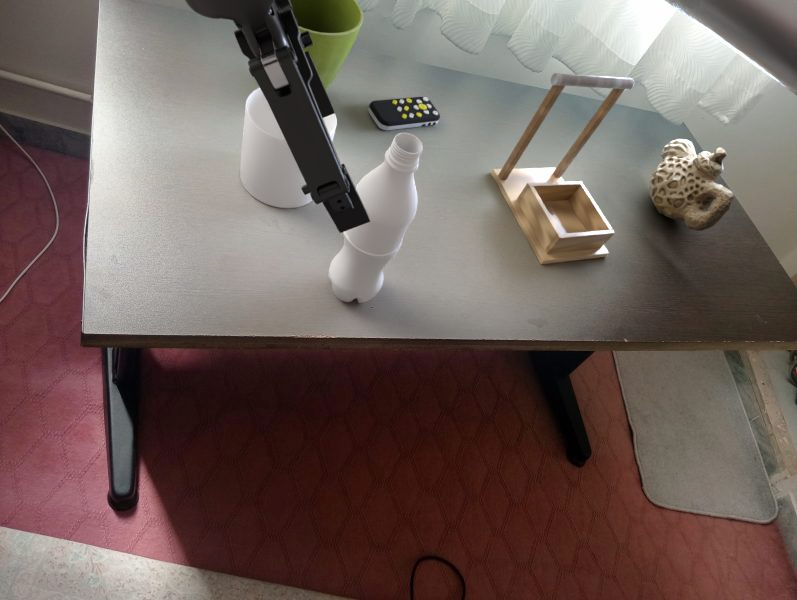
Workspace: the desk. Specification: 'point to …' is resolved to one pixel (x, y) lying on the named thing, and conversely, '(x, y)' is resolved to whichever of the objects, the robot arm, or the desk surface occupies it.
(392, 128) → the remote control
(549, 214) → the rack
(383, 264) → the water bottle
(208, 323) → the desk surface
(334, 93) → the desk surface
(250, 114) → the cup
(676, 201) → the teapot
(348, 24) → the flower pot
